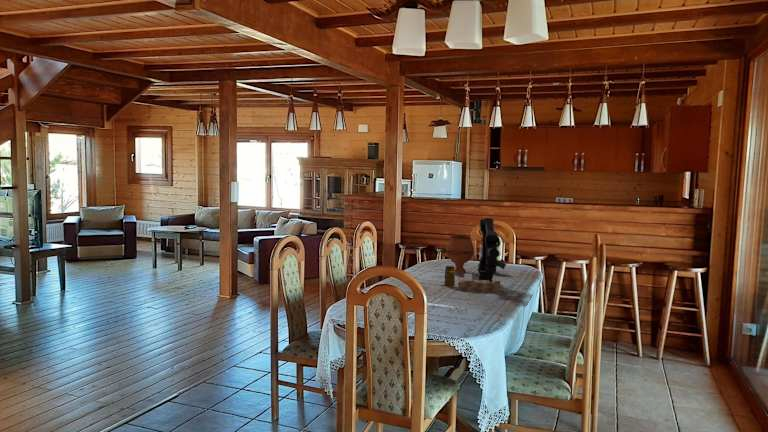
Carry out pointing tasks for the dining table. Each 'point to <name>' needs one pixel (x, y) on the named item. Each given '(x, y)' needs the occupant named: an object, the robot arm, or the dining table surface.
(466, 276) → the peg
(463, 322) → the dining table surface
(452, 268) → the condiment
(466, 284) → the housing
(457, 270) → the goblet
